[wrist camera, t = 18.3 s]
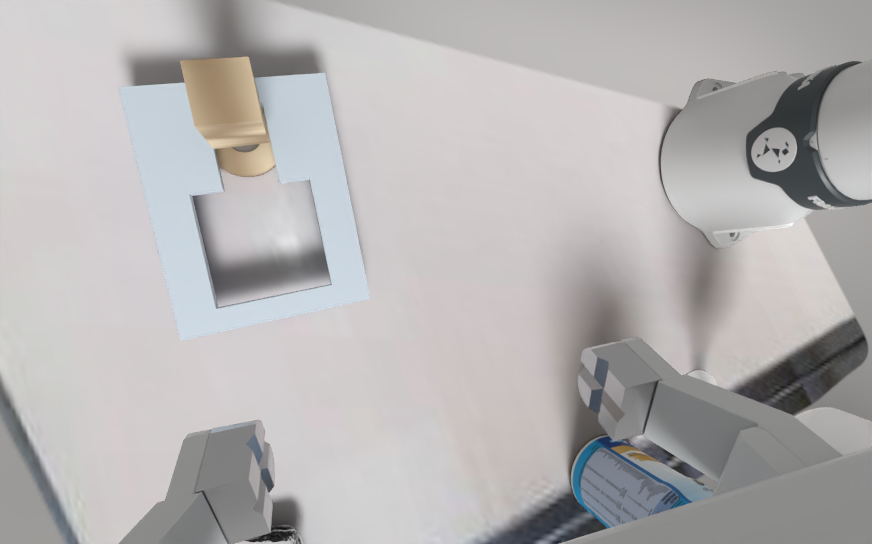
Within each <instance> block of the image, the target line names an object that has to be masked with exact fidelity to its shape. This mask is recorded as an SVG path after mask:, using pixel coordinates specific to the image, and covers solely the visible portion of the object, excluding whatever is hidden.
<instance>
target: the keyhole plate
mask: <svg viewBox="0 0 872 544" xmlns="http://www.w3.org/2000/svg"><path fill="white" fill-rule="evenodd" d="M254 79H255V82H256V86H257V90H258V95H259V99H260V104H261V107H264V112H265V117H266V121H267V126H268V131H269V135H270V140H271V145H272V149H273V154H274V159H275V163H276V168H277V173H278V177H279V182H280V184H283V183H290V182H297V181H304V180H310V185H311V190H312V195H313V199H314V204H315V209H316V214H317V219H318V223H319V228H320V233H321V238H322V243H323V247H324V252H325V257H326V262H327V267H328V271H329V276H330V281H331V284H329V285H325V286H320V287H315V288H310V289H305V290H300V291H296V292H291V293H286V294H281V295H276V296H271V297H267V298H262V299H257V300H252V301H247V302H242V303H238V304H233V305H228V306H223V307H218V303H217V299H216V295H215V291H214V286H213V282H212V278H211V274H210V269H209V265H208V261H207V257H206V252H205V248H204V244H203V239H202V235H201V231H200V227H199V222H198V218H197V214H196V210H195V205H194V201H193V197H192V196H195V195H203V194H210V193H217V192H224V191H225V189H224V185H223V181H222V176H221V172H220V167H219V163H218V159H217V154H216V150H215V149H213V148H212V147H211V146H210V144H209V143H208V142H207V141H206V139H205V138H204V137H203V136H202V135H201V133H200V132H199V131H198V130H197V129H196V127H195V126H194V121H193V117H192V112H191V108H190V104H189V99H188V95H187V91H186V86H185V83H171V84H157V85H142V86H128V87H118V88H119V92H120V96H121V101H122V105H123V109H124V113H125V117H126V121H127V125H128V129H129V133H130V137H131V141H132V145H133V150H134V154H135V158H136V162H137V166H138V170H139V174H140V178H141V182H142V186H143V190H144V194H145V198H146V203H147V207H148V211H149V215H150V219H151V223H152V227H153V231H154V235H155V239H156V243H157V247H158V252H159V256H160V260H161V264H162V268H163V272H164V276H165V280H166V284H167V288H168V292H169V296H170V300H171V305H172V309H173V313H174V317H175V321H176V325H177V329H178V333H179V337H180V341H183V340H188V339H192V338H197V337H201V336H206V335H210V334H215V333H219V332H224V331H228V330H233V329H237V328H242V327H246V326H251V325H255V324H260V323H264V322H269V321H273V320H278V319H282V318H287V317H291V316H296V315H300V314H305V313H309V312H314V311H318V310H323V309H327V308H332V307H336V306H341V305H345V304H350V303H354V302H359V301H363V300H368V299H370V295H369V290H368V285H367V280H366V275H365V270H364V265H363V260H362V255H361V250H360V245H359V240H358V235H357V230H356V225H355V220H354V215H353V210H352V205H351V200H350V195H349V190H348V185H347V180H346V175H345V170H344V165H343V160H342V155H341V150H340V145H339V140H338V135H337V130H336V125H335V120H334V115H333V110H332V105H331V100H330V95H329V90H328V85H327V80H326V75H325V73H314V74H300V75H286V76H271V77H257V78H254Z"/></svg>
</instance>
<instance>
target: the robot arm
mask: <svg viewBox="0 0 872 544" xmlns="http://www.w3.org/2000/svg"><path fill="white" fill-rule="evenodd" d="M661 174H662V180H663V184H664V188H665V191H666V194H667V196H668V198H669V200H670V202H671V204H672V206H673V207H674V209H675V210H676V211H677V213H678V214H679V215H680V216H681V217H682V218H683V219H684V220H685V221H687V222H688V223H690V224H691V225H693V226H695V227H697V228H698V229H700V230H701V231H702V232H703V233H704V234H705V236H706V237H707V239H708V240H709V241H710V243H711V244H712V245H713V246H714V247H716V248H725V247H729V246H731V245H733V244H735V243H737V242H739V241H741V240H743V239H745V238H746V237H748V236H750V235H752V234H754V233H756V232H758V231H760V230H766V229H777V228H786V227H791V226H793V224H794V222H797V221H799V220H801V219H803V218H804V217H806V216H807V215H809V214H810V213H811V212H813V211H814V210H821V209H844V208H848V207H853V206H859V205H866V204H868V203H871V202H872V59H871V60H868V61H865V62H858V61H852V62H847V63H844V64H841V65H838V66H836V65H835V66H831V67H827V68H824V69H821V70H819V71H816V72H815V73H813V74H811V75H808V76H805V75H804V74H803V73H796V74H790V75H787V74H786V72H776V71H774V72H770V73H766V74H763V75H760V76H757V77H754V78H751V79H748V80H745V81H743V82H739V83H732V82H726V81H720V80H714V79H704V80H701V81H698V82H697V83H696V84H695V85H694V87H693V89H692V91H691V94H690V96H689V100H688V103H687V104H686V106H685V107H684V109H683V110H682V111H681V112H680V113H679V114H678V115H677V116H676V118H675V119H674V120H673V122H672V123H671V125H670V127H669V129H668V131H667V133H666V136H665V139H664V142H663V147H662V153H661ZM580 361H581V362H582V363H583V364H584V367H583V368H582V370H581V371H580V372H579V373H578V382H577V384H578V388H579V393H580V395H581V397H582V399H583V401H584V403H585V404H586V405H587V407H588V408H589V409H591V410H593V411H595V412H597V413H599V416H598V422H599V423H600V424H601V426H602V427H603V428H604V430H605V431H606V432H607V434H608V435H609V436H610V438H611V439H612V440H613V441H617V440H621V439H626V438H630V437H634V436H638V435H643V434H644V437H646V438H647V439H649V440H651V441H652V442H654V443H655V444H657V445H659V446H660V447H662V448H664V449H665V450H667V451H668V452H670V453H672V454H673V455H675V456H677V457H678V458H680V459H681V460H683V461H685V462H686V463H688V464H689V465H691V466H693V467H694V468H696V469H698V470H699V471H701V472H702V473H704V474H706V475H707V476H709V477H710V478H712V479H714V480H715V481H717V482H718V484H717V487H716V489H715V491H714V493H713V496H712V497H708V498H705V499H702V500H699V501H695V502H692V503H689V504H686V505H683V506H679V507H676V508H673V509H670V510H666V511H663V512H660V513H657V514H653V515H650V516H647V517H644V518H641V519H637V520H634V521H631V522H628V523H624V524H621V525H618V526H615V527H611V528H608V529H605V530H602V531H599V532H595V533H592V534H589V535H586V536H582V537H579V538H576V539H573V540H569V541H566V542H563V543H560V544H872V447H870V448H867V449H863V450H860V451H857V452H854V453H850V454H847V455H844V456H843V455H842V454H840V453H839V452H838V451H837V450H835V449H834V448H833V447H832V446H830V445H829V444H828V443H827V442H825V441H824V440H823V439H822V438H820V437H819V436H818V435H816V434H815V433H814V432H813V431H811V430H810V429H809V428H808V427H806V426H805V425H804V424H803V423H801V422H800V421H799V420H798V419H796V418H795V417H794V416H793V415H791V414H788V413H785V412H783V411H780V410H778V409H775V408H772V407H770V406H767V405H765V404H762V403H759V402H757V401H754V400H752V399H749V398H746V397H744V396H741V395H739V394H736V393H733V392H731V391H728V390H726V389H723V388H721V387H718V386H715V385H713V384H710V383H708V382H705V381H702V380H700V379H697V378H695V377H692V376H689V375H682V376H681V375H680V374H679V373H678V372H677V371H676V370H675V369H674V368H673V367H672V366H670V365H669V364H668V363H667V362H666V361H665V360H664V359H663V358H662V357H661V356H660V355H658V354H657V353H656V352H655V351H654V350H653V349H652V348H651V347H650V346H649V345H648V344H646V343H645V342H644V341H643V340H642V339H640V338H638V337H632V338H628V339H624V340H619V341H615V342H611V343H607V344H602V345H598V346H594V347H589V348H585V349H584V350H583V352H582V354H581V359H580ZM264 437H265V429H264V427H263V424H262V422H261V421H260V420H255V421H249V422H244V423H239V424H234V425H229V426H224V427H218V428H213V429H211V430H206V431H200V432H195V433H190V434H188V435H187V436H186V438H185V439H184V441H183V444H182V447H181V450H180V454H179V457H178V460H177V463H176V466H175V470H174V473H173V476H172V479H171V483H170V486H169V489H168V492H167V496H166V499H165V501H162V502H158V503H156V505H155V506H154V507H153V508H152V509H151V510H150V511H149V512H148V513H147V514H146V515H145V516H144V517H143V518H142V519H141V520H140V522H139V523H138V524H137V525H136V526H135V527H134V528H133V529H132V530H131V531H130V532H129V533H128V534H127V535H126V536H125V537H124V538H123V540H122V541H121V542H120V543H119V544H234V543H238V542H241V541H245V540H248V539H251V538H255V537H258V536H261V535H265V534H268V533H271V521H272V508H273V503H272V500H271V498H270V495H269V492H270V491H271V490H272V488H273V487H274V481H275V468H274V458H273V453H272V449H271V446H270V444H269V443H267V442H265V441H264Z"/></svg>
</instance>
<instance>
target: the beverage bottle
mask: <svg viewBox="0 0 872 544" xmlns="http://www.w3.org/2000/svg"><path fill="white" fill-rule="evenodd" d="M571 485H572V490H573V493H574V495H575V497H576V499H577V500H578V502H579V503H580V504H581V505H582V506H583V507H584V508H585V509H586V510H588V511H589V512H590V513H592V514H593V515H594V516H595V517H596V518H597V519H598V520H599V521H601V522H602V523H603V524H604V525H605V526H606V527H607V528H611V527H615V526H618V525H621V524H624V523H628V522H631V521H634V520H637V519H641V518H644V517H647V516H650V515H653V514H657V513H660V512H663V511H666V510H670V509H673V508H676V507H679V506H683V505H686V504H689V503H692V502H695V501H699V500H702V499H705V498H708V497H712V496H713V493H714V491H713V490H712V489H711V488H709V487H708V486H706V485H705V484H703V483H701V482H700V481H698V480H696V479H693V478H689V477H685V476H684V475H682V474H680V473H678V472H677V471H675V470H673V469H671V468H669V467H668V466H666V465H664V464H662V463H661V462H659V461H657V460H655V459H654V458H652V457H650V456H648V455H647V454H645V453H643V452H642V451H640V450H638V449H637V448H635V447H634V446H632V445H631V444H630V443H628V442H626V441H625V440H623V439H621V440H617V441H613V440H612V439H611V438H610V436H609V435H606V436H600V437H597V438H595V439H593V440H591V441H590V442H588V443H587V444H586V445H585V446H584V447H583V448H582V449H581V450H580V452H579V453H578V455H577V457H576V459H575V461H574V463H573V467H572V471H571Z"/></svg>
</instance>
